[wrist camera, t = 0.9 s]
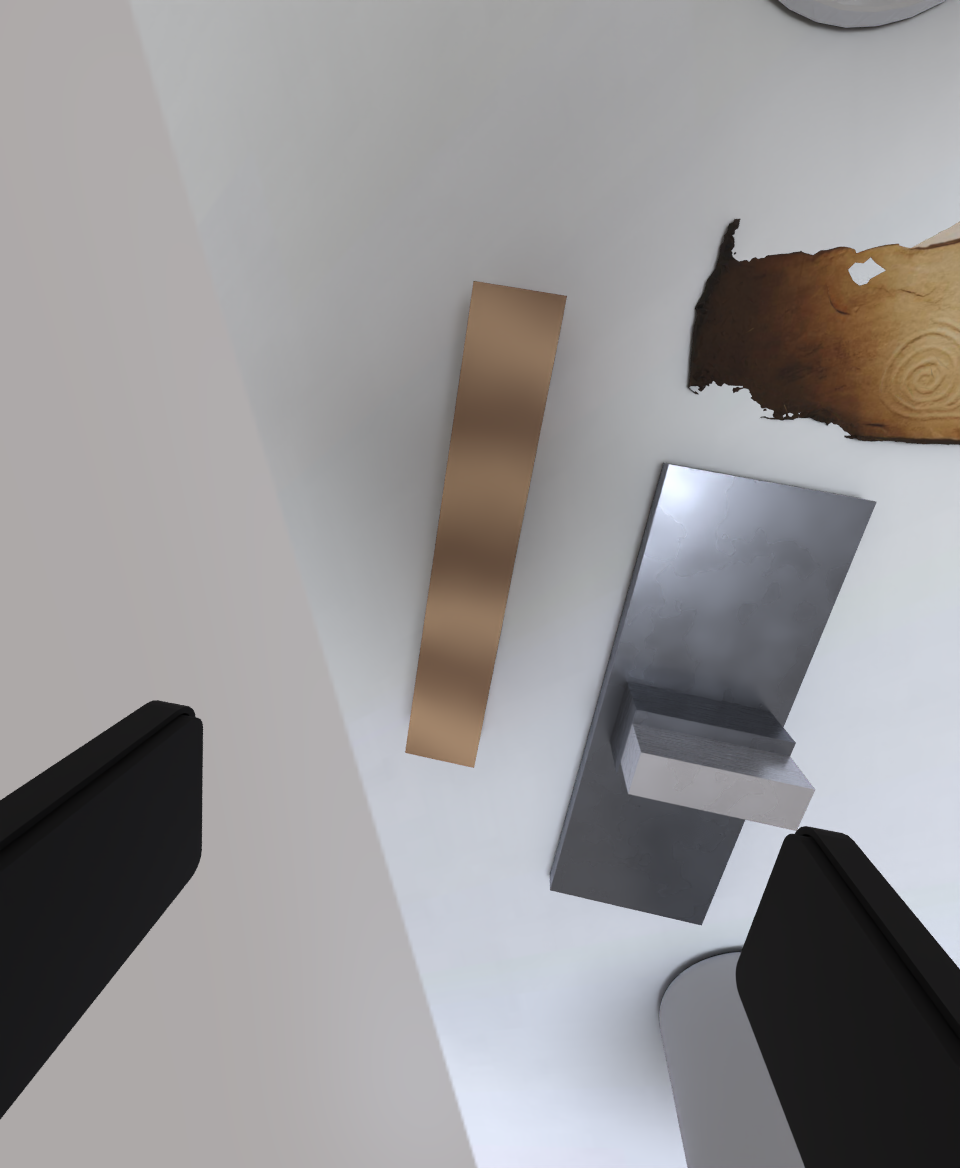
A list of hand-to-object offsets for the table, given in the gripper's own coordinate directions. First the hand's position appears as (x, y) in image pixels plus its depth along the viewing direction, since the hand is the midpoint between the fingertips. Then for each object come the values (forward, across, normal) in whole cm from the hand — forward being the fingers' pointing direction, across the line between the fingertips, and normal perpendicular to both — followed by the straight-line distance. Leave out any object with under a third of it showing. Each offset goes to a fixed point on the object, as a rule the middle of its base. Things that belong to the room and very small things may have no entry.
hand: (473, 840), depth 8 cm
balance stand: (+22, -11, +8) cm, 26 cm away
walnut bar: (+22, +2, -1) cm, 22 cm away
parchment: (+21, -19, -14) cm, 32 cm away
